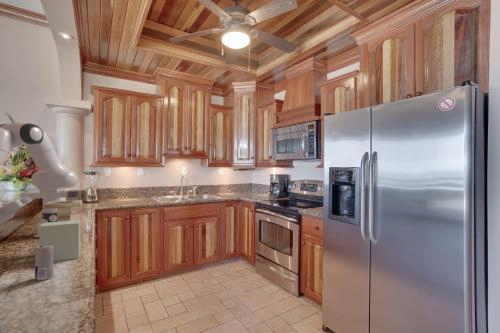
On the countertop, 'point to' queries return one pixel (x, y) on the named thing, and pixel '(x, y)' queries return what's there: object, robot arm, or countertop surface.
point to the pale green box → (61, 239)
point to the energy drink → (43, 262)
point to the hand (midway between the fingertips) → (36, 194)
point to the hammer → (53, 194)
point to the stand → (63, 209)
